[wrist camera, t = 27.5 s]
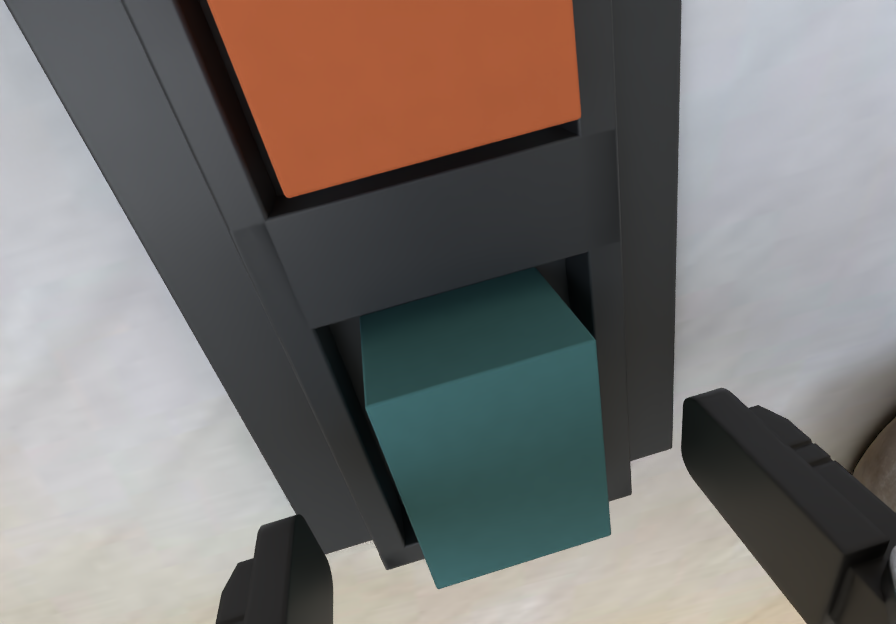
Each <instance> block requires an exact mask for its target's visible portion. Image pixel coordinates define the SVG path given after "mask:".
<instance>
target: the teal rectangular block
mask: <svg viewBox="0 0 896 624" xmlns="http://www.w3.org/2000/svg"><path fill="white" fill-rule="evenodd" d="M360 334H361V350H362V365H363V381H364V396H365V409H366V411H367V414H368V416H369V419H370V421H371V424H372V426H373V429H374V431H375V434H376V436H377V439H378V441H379V444H380V446H381V449H382V452H383V454H384V457H385V459H386V462H387V464H388V467H389V469H390V472H391V474H392V477H393V479H394V482H395V484H396V487H397V489H398V492H399V494H400V497H401V499H402V502H403V504H404V507H405V509H406V512H407V514H408V517H409V520H410V522H411V525H412V527H413V530H414V532H415V535H416V537H417V540H418V542H419V545H420V547H421V550H422V552H423V555H424V557H425V560H426V562H427V565H428V567H429V570H430V572H431V575H432V577H433V580H434V582H435V585H436V587H437V589H441V588H444V587H447V586H450V585H453V584H457V583H460V582H463V581H466V580H469V579H473V578H476V577H479V576H482V575H485V574H488V573H492V572H495V571H498V570H501V569H504V568H508V567H511V566H514V565H517V564H520V563H523V562H527V561H530V560H533V559H536V558H539V557H543V556H546V555H549V554H552V553H555V552H558V551H562V550H565V549H568V548H571V547H574V546H578V545H581V544H584V543H587V542H590V541H593V540H597V539H600V538H603V537H606V536H609V535H611V527H610V514H609V501H608V489H607V476H606V463H605V450H604V438H603V425H602V412H601V399H600V386H599V374H598V361H597V348H596V340H595V339H594V337H593V336H592V335H591V334H590V333H589V331H588V330H587V329H586V328H585V326H584V325H583V324H582V323H581V322H580V320H579V319H578V318H577V317H576V316H575V314H574V313H573V312H572V311H571V310H570V308H569V307H568V306H567V305H566V304H565V302H564V301H563V300H562V299H561V298H560V296H559V295H558V294H557V293H556V292H555V290H554V289H553V288H552V287H551V285H550V284H549V283H548V282H547V281H546V279H545V278H544V277H543V276H542V275H541V273H540V272H539V271H538V270H537V269H536V268H535V267H533V268H529V269H526V270H522V271H518V272H515V273H511V274H508V275H504V276H501V277H497V278H494V279H490V280H487V281H483V282H480V283H476V284H472V285H469V286H465V287H462V288H458V289H455V290H451V291H448V292H444V293H441V294H437V295H434V296H430V297H427V298H423V299H419V300H416V301H412V302H409V303H405V304H402V305H398V306H395V307H391V308H388V309H384V310H381V311H377V312H374V313H370V314H366V315H363V316H361V317H360Z"/></svg>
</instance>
